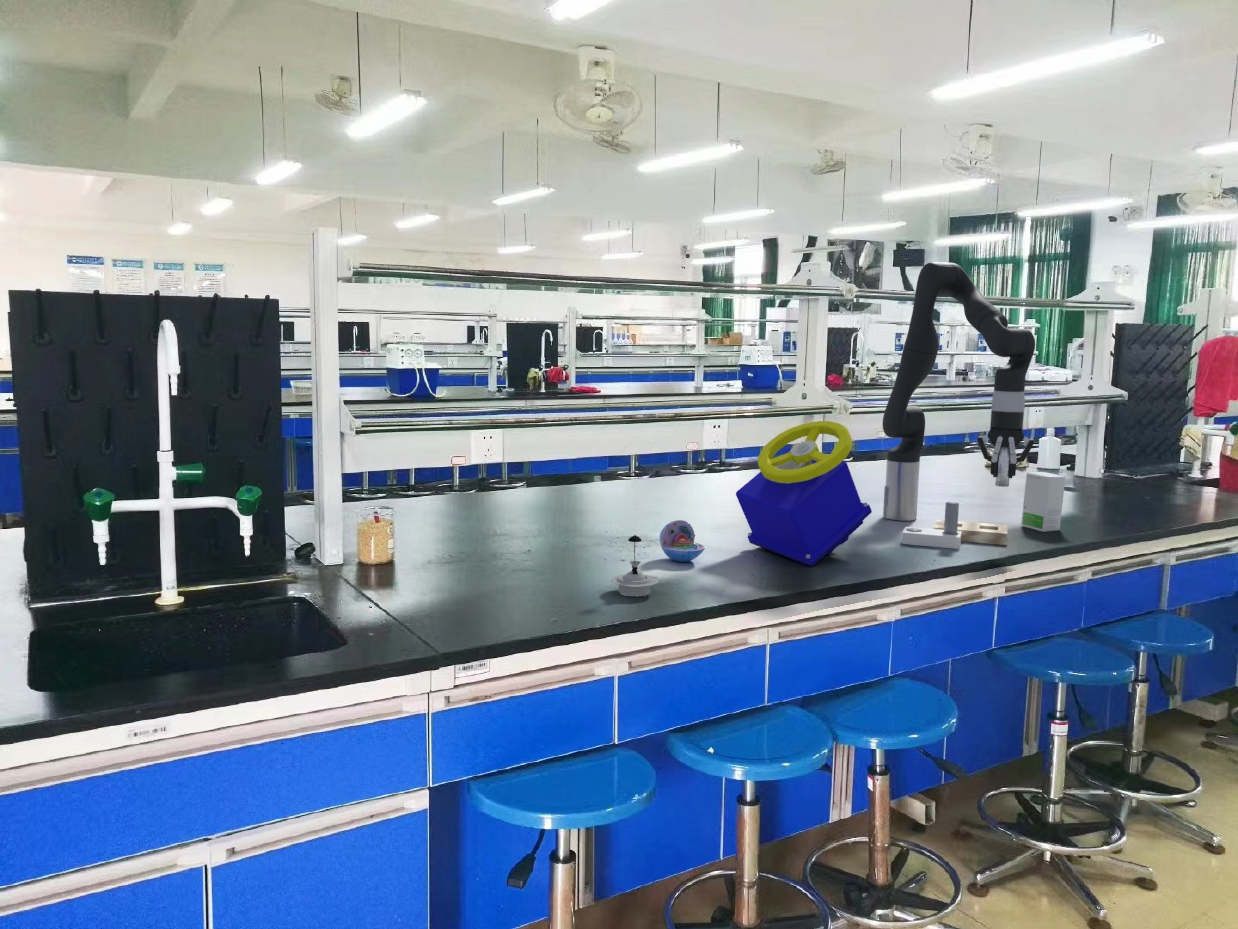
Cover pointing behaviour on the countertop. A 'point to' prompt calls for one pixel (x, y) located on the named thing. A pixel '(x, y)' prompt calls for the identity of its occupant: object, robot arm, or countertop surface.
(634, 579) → the white domed rod stand
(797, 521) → the control box
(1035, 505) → the skincare box
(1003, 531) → the pin board
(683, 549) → the cell model
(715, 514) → the countertop surface
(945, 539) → the block
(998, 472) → the steel pin
